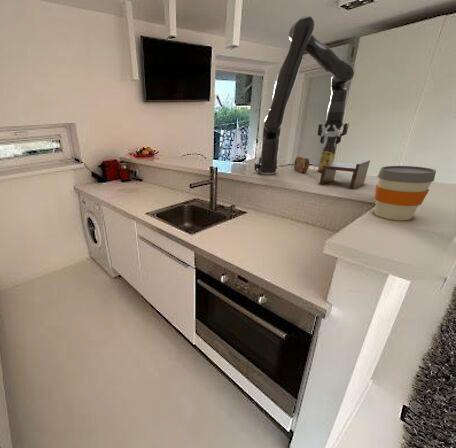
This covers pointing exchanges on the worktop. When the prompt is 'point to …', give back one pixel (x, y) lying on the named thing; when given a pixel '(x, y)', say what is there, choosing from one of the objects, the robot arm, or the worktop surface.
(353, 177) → the shelf
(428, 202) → the worktop surface
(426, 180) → the reusable coffee cup
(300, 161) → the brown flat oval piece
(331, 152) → the sauce bottle
